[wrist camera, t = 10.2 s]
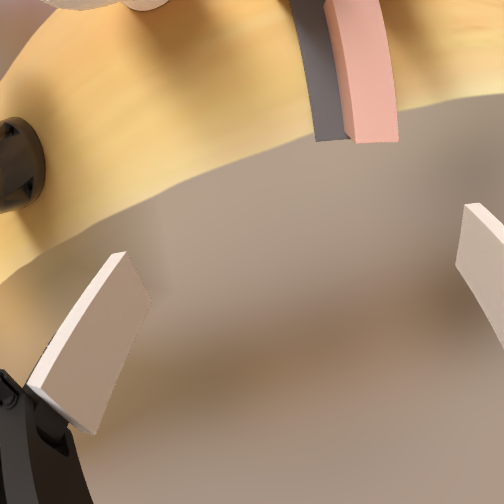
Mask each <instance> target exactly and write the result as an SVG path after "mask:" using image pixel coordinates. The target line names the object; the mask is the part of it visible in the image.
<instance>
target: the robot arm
mask: <svg viewBox="0 0 504 504" xmlns="http://www.w3.org/2000/svg"><path fill="white" fill-rule="evenodd" d="M44 180H45V161H44V155H43V151H42V147H41V144H40V142H39V139H38V137H37V135H36V133H35V132H34V130H33V129H32V127H31V126H30V125H29V124H28V123H27V122H26V121H24V120H23V119H21V118H18V117H10V118H7V119H4V120H2V121H0V214H2V213H6V212H10V211H14V210H18V209H22V208H24V207H26V206H28V205H29V204H30V203H32V202H33V201H35V200H36V199H37V198H38V196H39V195H40V193H41V191H42V188H43V185H44ZM455 266H456V267H457V269H458V270H459V272H460V273H461V275H462V276H463V278H464V279H465V281H466V283H467V284H468V286H469V287H470V289H471V291H472V292H473V294H474V295H475V297H476V299H477V300H478V302H479V304H480V306H481V307H482V309H483V311H484V313H485V314H486V316H487V318H488V320H489V322H490V324H491V325H492V327H493V329H494V331H495V333H496V335H497V337H498V339H499V341H500V343H501V345H502V347H503V349H504V225H503V224H502V223H501V222H500V221H498V219H496V218H495V217H494V216H493V215H492V214H491V213H490V212H489V211H488V210H487V209H486V208H485V207H484V206H482V205H481V204H480V203H473V204H465V205H464V212H463V221H462V228H461V235H460V241H459V247H458V253H457V258H456V263H455ZM151 304H152V301H151V299H150V298H149V295H148V294H147V292H146V290H145V288H144V286H143V284H142V282H141V280H140V278H139V276H138V274H137V272H136V270H135V268H134V266H133V264H132V262H131V260H130V258H129V256H128V254H127V252H120V253H114V254H112V255H111V256H110V257H109V259H108V260H107V261H106V262H105V264H104V265H103V267H102V268H101V269H100V270H99V272H98V273H97V275H96V276H95V277H94V279H93V280H92V281H91V283H90V284H89V285H88V287H87V288H86V290H85V291H84V292H83V294H82V295H81V297H80V298H79V300H78V301H77V303H76V304H75V305H74V307H73V308H72V310H71V311H70V313H69V314H68V316H67V317H66V319H65V320H64V322H63V324H62V325H61V326H60V328H59V330H58V331H57V332H56V333H55V334H54V336H53V337H52V339H51V340H50V342H49V344H48V347H46V349H45V350H44V352H43V355H42V356H41V357H40V359H39V361H38V362H37V364H36V366H35V367H34V369H33V371H32V372H31V374H30V376H29V378H28V380H27V381H26V383H25V385H24V386H23V388H21V387H20V386H19V385H18V384H17V383H16V382H15V381H14V379H13V378H12V377H11V376H10V375H9V374H8V373H7V372H6V371H5V370H3V369H0V504H93V501H92V498H91V496H90V493H89V490H88V487H87V484H86V481H85V478H84V475H83V472H82V469H81V465H80V462H79V458H78V455H77V451H76V447H75V444H74V440H73V436H72V433H71V431H70V430H69V429H68V428H67V426H68V423H71V424H72V425H73V426H74V427H75V428H77V429H78V430H79V431H82V432H86V433H89V434H92V435H96V432H97V429H98V427H99V424H100V422H101V419H102V416H103V414H104V411H105V409H106V406H107V404H108V401H109V399H110V396H111V394H112V391H113V389H114V387H115V384H116V382H117V379H118V377H119V375H120V372H121V370H122V368H123V365H124V363H125V361H126V359H127V356H128V354H129V352H130V350H131V347H132V345H133V343H134V340H135V338H136V336H137V334H138V332H139V330H140V328H141V325H142V323H143V321H144V319H145V317H146V315H147V312H148V311H149V308H150V306H151Z"/></svg>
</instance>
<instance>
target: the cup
mask: <svg viewBox="0 0 504 504" xmlns="http://www.w3.org/2000/svg"><path fill="white" fill-rule="evenodd" d="M40 1H43V2H45V3H47V4H49V5H51V6H53V7H55V8H62V9H70V10H78V11H82V10H89V9H95V8H99V7H104V6H108V5H111V4H114V3H117V2H119V1H120V2H121V3H123V4H124V5H126V6H127V7H129V8H131V9H134V10H138V11H147V10H151V9H155V8H157V7H159V6H161V5H163V4H165V3H166V2H167V1H169V0H40Z"/></svg>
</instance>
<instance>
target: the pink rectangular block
mask: <svg viewBox="0 0 504 504" xmlns="http://www.w3.org/2000/svg"><path fill="white" fill-rule="evenodd" d="M323 8H324V12H325V16H326V21H327V25H328V30H329V35H330V40H331V45H332V50H333V55H334V61H335V67H336V73H337V79H338V85H339V92H340V99H341V107H342V114H343V123H344V131H345V133H346V134H347V135H348V136H349V137H350V138H351V139H352V140H353V141H354V142H355V143H356V144H361V143H379V142H399V136H398V120H397V107H396V97H395V88H394V79H393V72H392V65H391V58H390V52H389V46H388V40H387V35H386V30H385V25H384V20H383V16H382V11H381V7H380V3H379V0H326V1H325V3H324V5H323Z"/></svg>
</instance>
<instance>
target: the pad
mask: <svg viewBox="0 0 504 504" xmlns="http://www.w3.org/2000/svg"><path fill="white" fill-rule="evenodd" d="M325 1H326V0H290V4H291V8H292V12H293V17H294V21H295V26H296V30H297V35H298V39H299V44H300V49H301V54H302V59H303V65H304V70H305V75H306V81H307V87H308V93H309V99H310V105H311V111H312V118H313V125H314V132H315V139H316V142H319V141H330V140H342V139H351V138H350V137H349V136H348V135H347V134H346V133H345V131H344V123H343V114H342V107H341V99H340V92H339V85H338V79H337V73H336V67H335V61H334V55H333V50H332V45H331V40H330V35H329V30H328V25H327V21H326V16H325V12H324V8H323V5H324V3H325Z"/></svg>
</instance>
